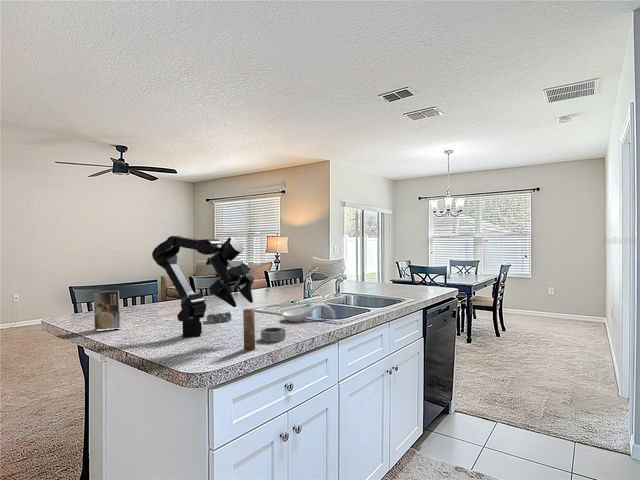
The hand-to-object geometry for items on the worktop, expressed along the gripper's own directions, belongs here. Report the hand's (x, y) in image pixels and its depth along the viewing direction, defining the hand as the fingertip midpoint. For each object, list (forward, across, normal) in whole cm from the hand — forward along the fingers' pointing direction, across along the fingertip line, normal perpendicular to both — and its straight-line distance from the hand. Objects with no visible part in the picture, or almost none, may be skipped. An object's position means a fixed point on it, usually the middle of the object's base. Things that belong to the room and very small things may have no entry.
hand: (244, 304), depth 133 cm
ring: (+15, +8, +2) cm, 17 cm away
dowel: (+15, -6, +2) cm, 16 cm away
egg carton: (-9, +25, +36) cm, 45 cm away
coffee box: (-28, -6, +62) cm, 68 cm away
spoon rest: (+13, +43, +6) cm, 45 cm away
